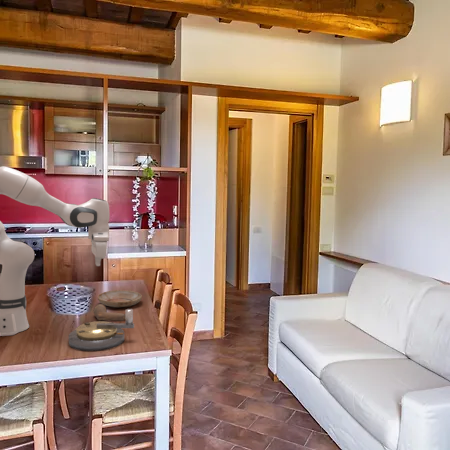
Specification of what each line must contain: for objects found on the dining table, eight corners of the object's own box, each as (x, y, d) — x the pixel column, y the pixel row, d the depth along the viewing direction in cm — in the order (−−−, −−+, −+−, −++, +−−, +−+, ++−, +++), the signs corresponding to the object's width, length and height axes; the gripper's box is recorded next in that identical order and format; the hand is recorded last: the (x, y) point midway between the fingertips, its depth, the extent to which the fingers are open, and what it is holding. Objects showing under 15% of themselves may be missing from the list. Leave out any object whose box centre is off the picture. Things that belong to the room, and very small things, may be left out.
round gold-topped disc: (72, 340, 170) (72, 316, 169) (81, 327, 186) (81, 304, 185) (131, 340, 173) (131, 315, 172) (135, 327, 189) (136, 304, 188)
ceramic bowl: (97, 312, 218) (97, 302, 218) (97, 299, 241) (97, 290, 240) (144, 309, 225) (144, 300, 224) (139, 297, 247) (139, 289, 247)
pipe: (124, 312, 203) (128, 303, 213) (88, 312, 203) (94, 302, 212) (124, 325, 205) (128, 315, 215) (89, 324, 204) (94, 314, 214)
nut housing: (71, 354, 165) (71, 346, 164) (66, 335, 185) (66, 328, 184) (129, 346, 174) (129, 338, 174) (118, 329, 194) (118, 322, 194)
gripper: (88, 232, 202) (87, 261, 203) (94, 237, 183) (93, 269, 184) (102, 232, 204) (101, 261, 205) (109, 237, 186) (108, 269, 187)
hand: (97, 265), depth 194 cm, fingers closed
